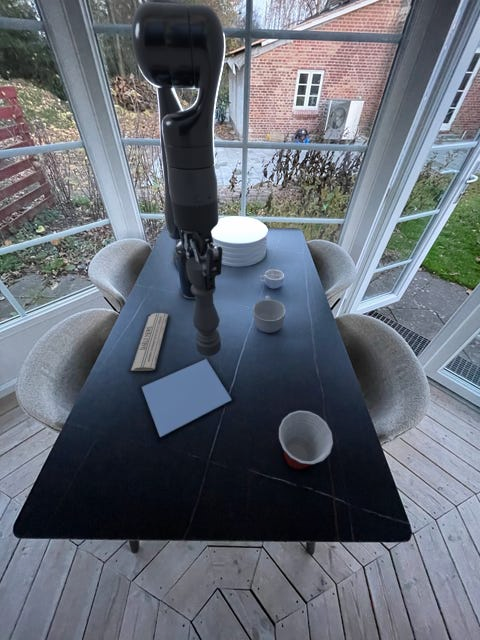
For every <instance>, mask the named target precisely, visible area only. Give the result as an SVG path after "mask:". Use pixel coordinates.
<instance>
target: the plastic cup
mask: <svg viewBox="0 0 480 640" xmlns="http://www.w3.org/2000/svg"><path fill="white" fill-rule="evenodd" d="M278 439H279V442H280V444H281V447H282V449H283V453H284V454H283V455H284V459H285V460H286V463H287V464H288V465H289V466H290V467H292V469H293V468H294V469H296V470H302V469H305V468H307V467H309V466H311V465H315V464H317V463H320V462H323V461H324V460H325V459H326V458H328V456H329V455H330V454H331V451H332V448H333V445H334V441H333V433H332V430H331V429H330V426H329V425H328V422H326V421H325V420H324V419H323V418H322V417H321V416H319V415H318V414H316V413H314V412H311V411H308V410H296V411H293V412H290V413H288V415H286V416H285V417H284V418H283V419H282V420H281V423H280V424H279V427H278Z"/></svg>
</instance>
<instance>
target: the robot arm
mask: <svg viewBox="0 0 480 640" xmlns="http://www.w3.org/2000/svg"><path fill="white" fill-rule="evenodd" d="M130 29H131V30H130V37H131V46H132V51H133V55H134V58H135V62H136V65H137V67H138V68H139V71H140V73H141V74H142V76H143V77H144V78H145V80H146V81H147V82H148V83H149V84H151V85H152V86H154V87H156V95H157V104H158V119H159V120H158V121H159V139H160V153H161V165H162V174H163V187H164V225H165V230H166V233H167V235H168V236H169V238H170V239H172V240H175V241H176V245H175V246H174V253H173V262H174V266H175V267H176V269H177V272H178V279H179V284H180V293H181V297H183V298H185V299H187V300H195V295H194V294H192V292H191V286H192V285H193V284H192V283H191V282H190V280H189V279H188V274H187V267H186V261H187V259H189V258H190V257H192V256H195V258H196V262H197V263H198V264H200V267H201V271H202V276H203V287H204V290H205V291H210V290H213V289H215V287H216V278H215V276H216V277H218V276H220V275H222V265H223V264H222V248H221V246H219V247H215V246H214V245H213V243H214V242H213V237H212V233H211V231H212V229H213V228H214V227H215V226H216V225H217V224H218V221H219V219H220V218H219V195H218V177H217V172H216V162H215V161H216V160H215V159H216V158H215V140H214V139H215V132H214V131H215V130H214V129H215V114H216V107H217V99H218V93H219V88H220V84H221V78H222V73H223V69H224V63H225V56H226V37H225V32H224V28H223V24H222V22H221V20H220V18H219V16H218V14H217V12H216V11H215V10H214V9H213V8H212V7H211V6H209V5H205V4H197V3H189V2H184V1H180V0H150V1H148V2H143V3H141V4H140V5H139V6H138V7H137V8H136V9H135V12H134V13H133V17H132V21H131V28H130ZM175 89H179V90H180V89H181V90H182V89H184V90H185V89H186V90H187V89H188V90H194V89H195V90H197V91H198V92H197V97H196V100H195V102H194V103H193V105H192V106H191V105H190V107H188V108H186V109H183V108H182V107H183V106H182V105H181V103H180V99H179V98H178V95H177V93H176V90H175ZM179 240H180V241H179ZM204 255H205V256H206V258H203V259H201V258H200V256H204ZM205 263H206V268H205ZM215 290H216V289H215Z"/></svg>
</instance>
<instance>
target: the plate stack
mask: <svg viewBox="0 0 480 640" xmlns="http://www.w3.org/2000/svg"><path fill="white" fill-rule="evenodd" d="M218 219H219V221H218V224H217V225H216V226H215V227H214V228H213V229H212V231H211V233H212V237H213V242H214V243H213V245H214V246H215V247H219V246H221V248H222V265H224V266H227V267H237V268H239V267H240V268H241V267H249V266H253V265H255V264H258V263H260V262H261V261H262V260H263V259H265V257H266V255H267V246H268V245H267V244H268V234H269V229H268V227H267V225H266V224H265V223H263V222H261V221H260V220H258V219H255V218H251V217H247V216H226V217H221V218H218Z"/></svg>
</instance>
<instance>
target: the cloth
mask: <svg viewBox="0 0 480 640" xmlns="http://www.w3.org/2000/svg"><path fill="white" fill-rule="evenodd" d="M141 390H142V393H143V396H144V398H145V400H146V403H147V406H148V410H149V411H150V415H151V417H152V419H153V422H154V425H155V428H156V430H157V433H158V436H159V438H162V437H164V436H166V435H168V434H170V433H172V432H174V431H176V430H178V429H180V428H182V427H184V426H186V425H187V424H189V423H192V422H194V421H195V420H197V419H199V418H201V417H204V416H205V415H207V414H209V413H211V412H212V411H214V410H216V409H219V408H220V407H222V406H224V405H226V404H227V403H230V402H232V400H233V398H231V396H230V394H229V392H228V391H227V389H226V388H225V386H224V385H223V384H222V381H221V380H220V379H219V377H218V375H217V374H216V371H214V368H213V367H212V365H211V364H210V363H209V360H208V359H207V358H205V359H203V360H200V361H199V362H196V363H193V364H191V365H189V366H187V367H184V368H182V369H180V370H178V371H175V372H173V373H170V374H169V375H166V376H164V377H162V378H159V379H157V380H155V381H152V382H150V383H148V384H146V385H143V386H141Z"/></svg>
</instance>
